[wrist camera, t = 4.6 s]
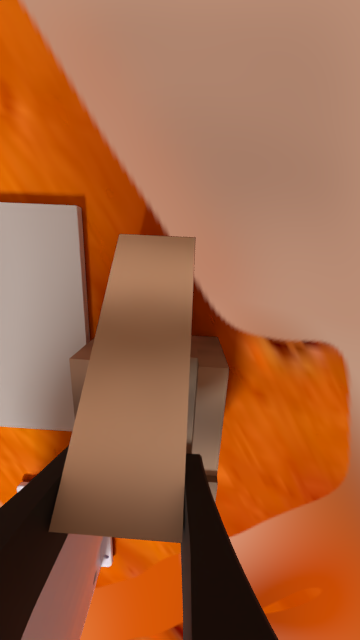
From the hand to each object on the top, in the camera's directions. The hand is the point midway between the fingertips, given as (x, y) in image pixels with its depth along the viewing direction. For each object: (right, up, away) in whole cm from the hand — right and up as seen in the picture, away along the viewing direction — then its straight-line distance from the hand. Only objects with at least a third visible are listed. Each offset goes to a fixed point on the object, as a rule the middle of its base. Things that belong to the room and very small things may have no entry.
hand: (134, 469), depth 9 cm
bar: (0, +4, +3) cm, 5 cm away
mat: (-10, +5, +7) cm, 13 cm away
